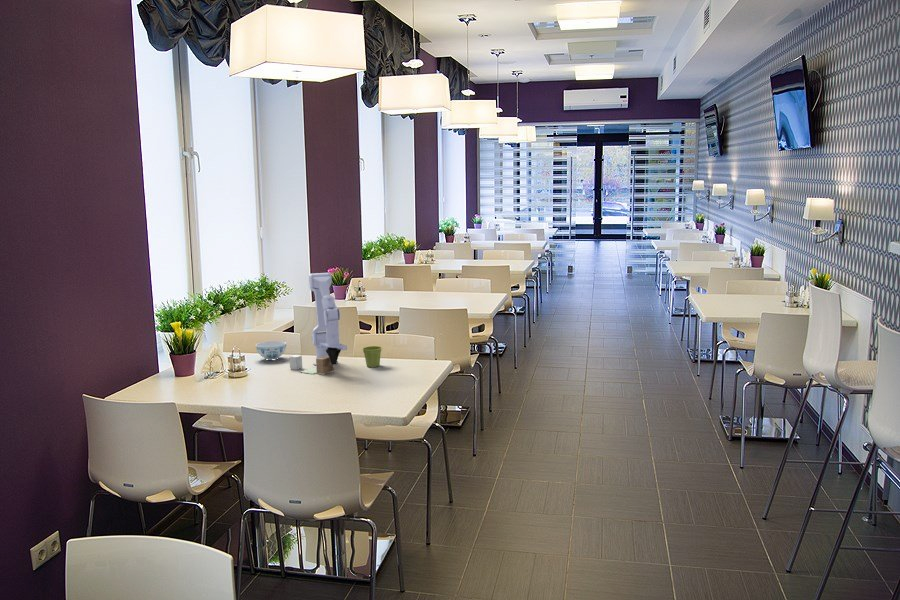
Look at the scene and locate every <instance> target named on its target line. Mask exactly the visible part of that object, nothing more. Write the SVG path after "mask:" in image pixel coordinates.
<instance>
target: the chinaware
mask: <svg viewBox="0 0 900 600" xmlns="http://www.w3.org/2000/svg"><path fill="white" fill-rule="evenodd" d="M255 348H256V352H257V353H258V354H259V355H260V356H261V357H262V358H264V360H265V359H268V360H272V359H277V358H279V359H280V357H281V356H282V355H283V354H284V352H285V351H286V348H287V342H286V341H282V340H281V341H280V340H271V341H270V340H269V341H262V342H258V343H256V344H255Z"/></svg>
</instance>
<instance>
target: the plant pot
mask: <svg viewBox="0 0 900 600" xmlns="http://www.w3.org/2000/svg"><path fill="white" fill-rule="evenodd" d="M382 349H383V347H382V346H378V345H371V346H365V347H363V348H361V350H362V352H363V355H364V358H365V360H364V361H365V365H366V367H368V368H377V367H379V366H381V365H380V364H381V353H382Z"/></svg>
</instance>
